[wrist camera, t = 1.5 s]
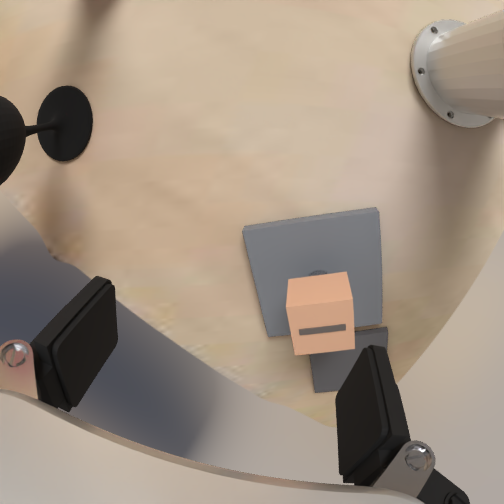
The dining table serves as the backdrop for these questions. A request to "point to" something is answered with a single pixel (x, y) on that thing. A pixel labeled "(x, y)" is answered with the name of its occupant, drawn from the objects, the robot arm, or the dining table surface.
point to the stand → (317, 261)
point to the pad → (343, 360)
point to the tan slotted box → (320, 313)
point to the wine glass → (46, 128)
